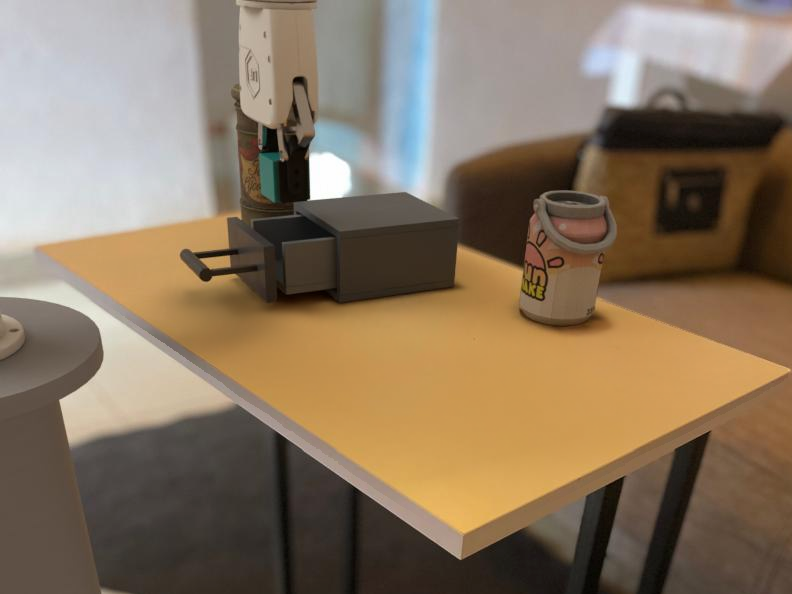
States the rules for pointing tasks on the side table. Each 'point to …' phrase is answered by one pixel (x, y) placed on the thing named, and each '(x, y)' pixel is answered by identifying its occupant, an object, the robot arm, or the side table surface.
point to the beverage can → (565, 256)
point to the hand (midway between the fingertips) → (285, 193)
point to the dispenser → (387, 244)
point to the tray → (274, 256)
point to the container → (254, 169)
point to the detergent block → (271, 175)
